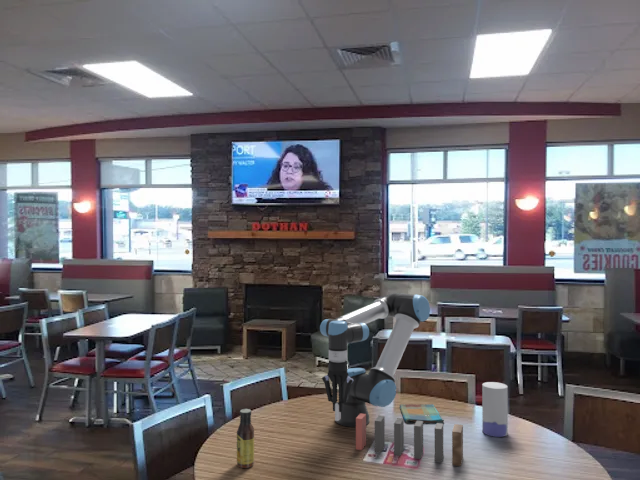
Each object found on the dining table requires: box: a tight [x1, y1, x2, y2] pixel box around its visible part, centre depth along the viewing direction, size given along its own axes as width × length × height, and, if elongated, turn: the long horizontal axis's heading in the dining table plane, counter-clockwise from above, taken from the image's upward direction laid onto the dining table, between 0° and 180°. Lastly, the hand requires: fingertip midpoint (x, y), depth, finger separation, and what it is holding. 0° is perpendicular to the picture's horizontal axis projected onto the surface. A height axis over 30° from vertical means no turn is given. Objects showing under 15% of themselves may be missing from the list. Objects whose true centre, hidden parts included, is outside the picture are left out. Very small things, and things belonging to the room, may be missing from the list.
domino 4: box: [434, 423, 444, 463], centre depth 187 cm, size 2×6×12 cm, turn 159°
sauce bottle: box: [236, 408, 255, 469], centre depth 182 cm, size 7×6×20 cm
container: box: [481, 381, 509, 438], centre depth 213 cm, size 10×10×20 cm
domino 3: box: [413, 420, 424, 460], centre depth 190 cm, size 2×6×12 cm, turn 159°
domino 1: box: [374, 415, 386, 454], centre depth 195 cm, size 2×6×12 cm, turn 159°
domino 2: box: [393, 417, 405, 457], centre depth 193 cm, size 2×6×12 cm, turn 159°
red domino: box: [355, 413, 367, 451], centre depth 198 cm, size 2×6×12 cm, turn 159°
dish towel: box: [399, 403, 445, 425], centre depth 235 cm, size 17×23×2 cm
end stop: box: [451, 423, 464, 467], centre depth 185 cm, size 3×8×12 cm, turn 159°
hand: (337, 419), depth 201 cm, fingers closed
